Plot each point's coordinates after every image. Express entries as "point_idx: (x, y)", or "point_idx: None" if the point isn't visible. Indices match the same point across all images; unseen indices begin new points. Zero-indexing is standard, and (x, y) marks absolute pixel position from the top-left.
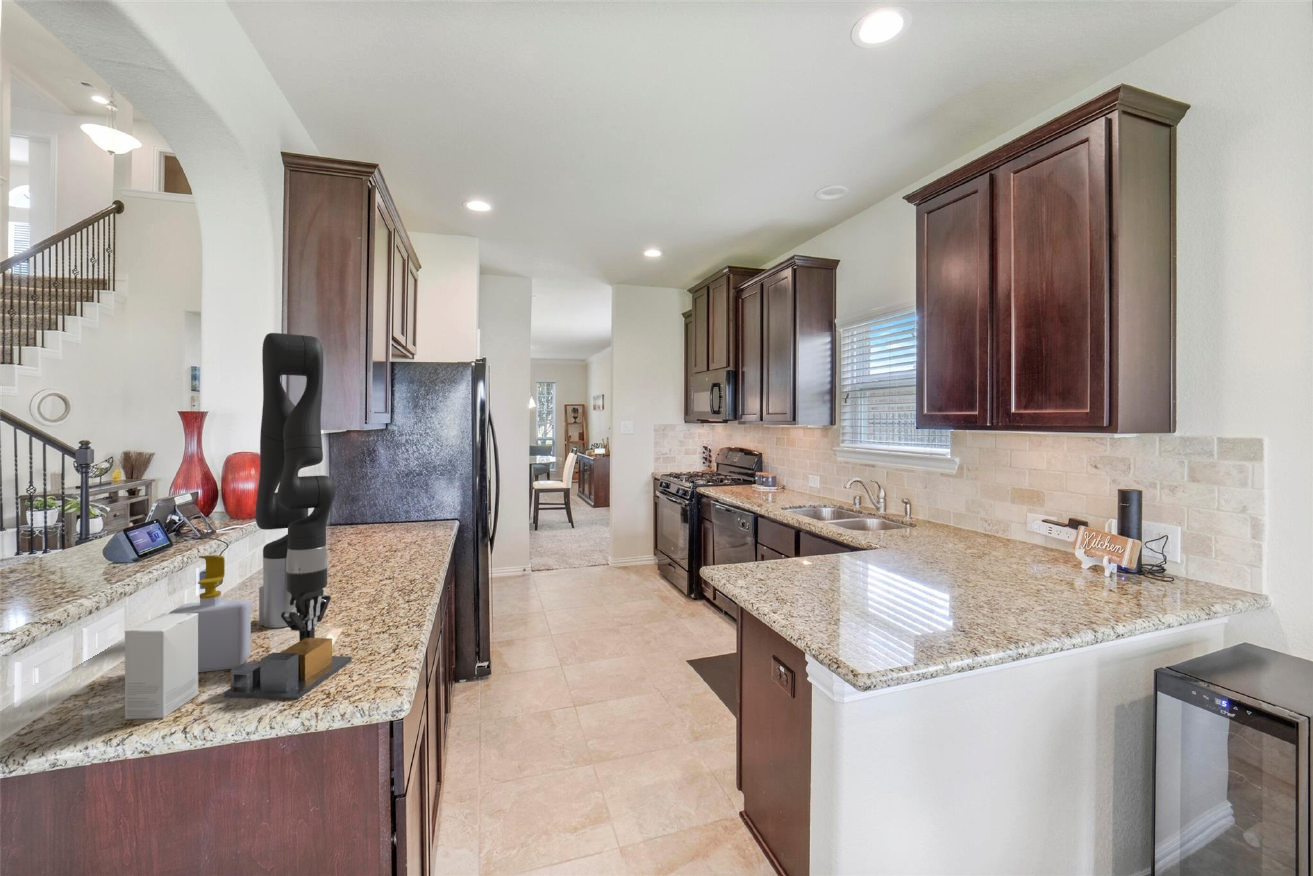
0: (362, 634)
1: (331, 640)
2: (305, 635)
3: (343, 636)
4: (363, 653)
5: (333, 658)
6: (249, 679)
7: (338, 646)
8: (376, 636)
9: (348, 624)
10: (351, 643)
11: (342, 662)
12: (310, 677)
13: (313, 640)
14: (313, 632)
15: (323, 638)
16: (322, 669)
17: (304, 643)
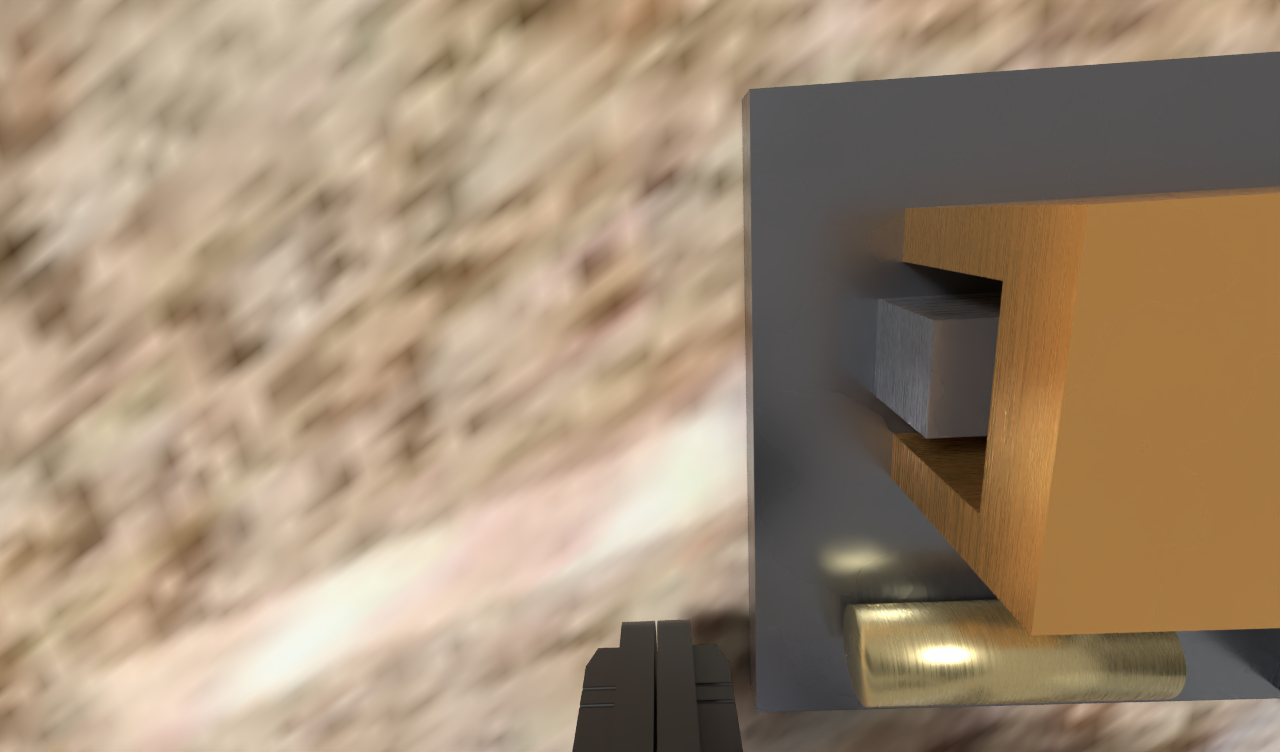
0: (140, 429)
1: (1082, 206)
2: (740, 743)
3: (237, 565)
4: (542, 103)
5: (809, 262)
6: (1240, 671)
7: (441, 466)
8: (131, 256)
9: (3, 689)
10: (352, 394)
11: (911, 83)
12: (1276, 176)
13: (1162, 459)
14: (625, 721)
15: (1079, 359)
16: (1081, 188)
17: (1277, 512)
